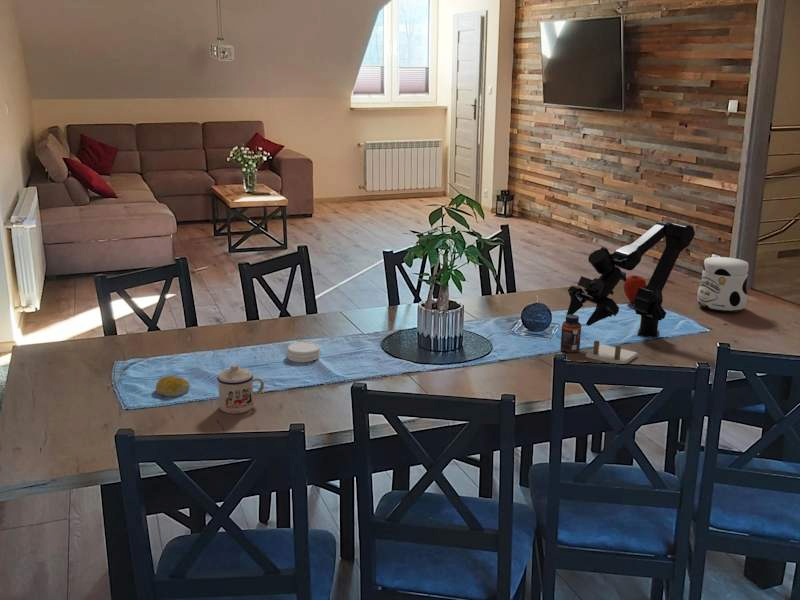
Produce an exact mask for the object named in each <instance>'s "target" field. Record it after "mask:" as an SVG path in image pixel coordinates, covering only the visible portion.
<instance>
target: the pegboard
mask: <svg viewBox="0 0 800 600" xmlns="http://www.w3.org/2000/svg"><path fill="white" fill-rule="evenodd" d="M585 357H586V358H589V359H592V360H596V361H601V362H605V363H608V362H611V363H610V364H612V363H626V364H628V363H629V362H631V361H633V360H634V359H635V358H637V357H638V352H635V351H632V350H628V349H624V348H622V347H621V346H620V345H615V347H614V346H611V345H606V344H600V341H599V340H594V341H593V349H591V350H589V351H587V352H586V353H585Z"/></svg>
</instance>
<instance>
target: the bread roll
mask: <svg viewBox="0 0 800 600" xmlns="http://www.w3.org/2000/svg"><path fill="white" fill-rule="evenodd" d="M190 386H191V385H190V383H189V381H187V380H186V379H184V378H182V377H176V376H175V375H169V376H168V375H167V376H164V377H162V378H161V379H159V380H158V381H157V383H156V385H155V390H156V393H157V394H158V395H160V396H164V397H167V398H168V397H169V398H171V397H179V396H183V395H185V394H187V393H188V392H189V390H190Z"/></svg>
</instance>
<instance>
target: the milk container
mask: <svg viewBox="0 0 800 600" xmlns="http://www.w3.org/2000/svg"><path fill="white" fill-rule="evenodd" d="M702 265H703V266H702V273H701V281H700V285H699V287H698V289H697V292H696V293H697V294H696V296H697V297H696V300H697V304H698V305H700V306H701V307H702V308H704V309H706V310H709V311H714V312H720V313H737V312H740V311H742V310H743V309H745V307H746V305H747V304H748V303H747V302H748V292H747V291H748V290H747V283H748V278H749V275H748V274H749V271H750V270H749V263H748V261H746V260H743V259H741V258H734V257H726V256H711V257H706V258H704V261H703V264H702Z"/></svg>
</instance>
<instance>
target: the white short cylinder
mask: <svg viewBox="0 0 800 600" xmlns="http://www.w3.org/2000/svg"><path fill="white" fill-rule="evenodd" d="M286 348H287V349H286V351H287V353H286V354H287V355H286V356H287V357H286V358H287V359H288V360H289V361H291V362H293V363H294V362H295V363H310V361H311V362H314V361H313V360H315V361H317V360H319V358H320V357H321V354H320V353H321V346H320V345H319V344H317V343H315V342H311V341H300V342H294V343H290V345H288V346H287V347H286ZM316 359H317V360H316Z"/></svg>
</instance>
